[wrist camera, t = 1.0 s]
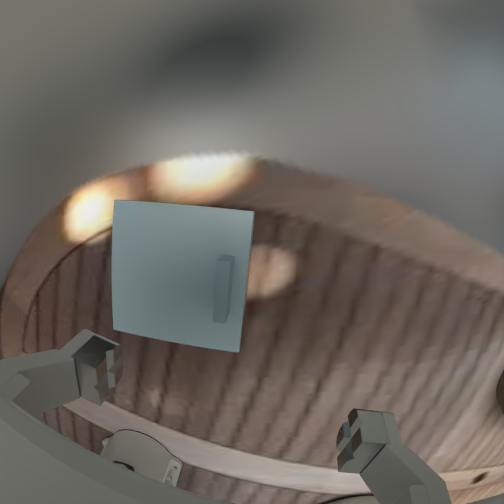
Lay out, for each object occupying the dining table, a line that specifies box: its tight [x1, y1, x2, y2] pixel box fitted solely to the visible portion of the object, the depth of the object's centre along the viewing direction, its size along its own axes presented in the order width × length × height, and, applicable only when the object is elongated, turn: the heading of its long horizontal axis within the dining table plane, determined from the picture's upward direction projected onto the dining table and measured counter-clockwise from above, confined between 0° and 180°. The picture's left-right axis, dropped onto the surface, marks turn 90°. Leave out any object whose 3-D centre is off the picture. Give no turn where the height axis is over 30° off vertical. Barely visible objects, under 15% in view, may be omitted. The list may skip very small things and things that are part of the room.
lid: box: [112, 200, 254, 353], centre depth 31 cm, size 15×15×5 cm
